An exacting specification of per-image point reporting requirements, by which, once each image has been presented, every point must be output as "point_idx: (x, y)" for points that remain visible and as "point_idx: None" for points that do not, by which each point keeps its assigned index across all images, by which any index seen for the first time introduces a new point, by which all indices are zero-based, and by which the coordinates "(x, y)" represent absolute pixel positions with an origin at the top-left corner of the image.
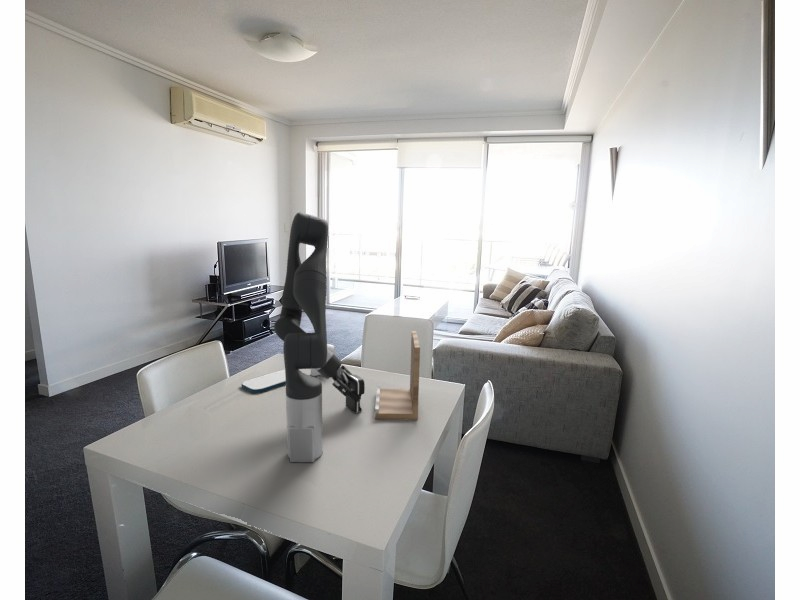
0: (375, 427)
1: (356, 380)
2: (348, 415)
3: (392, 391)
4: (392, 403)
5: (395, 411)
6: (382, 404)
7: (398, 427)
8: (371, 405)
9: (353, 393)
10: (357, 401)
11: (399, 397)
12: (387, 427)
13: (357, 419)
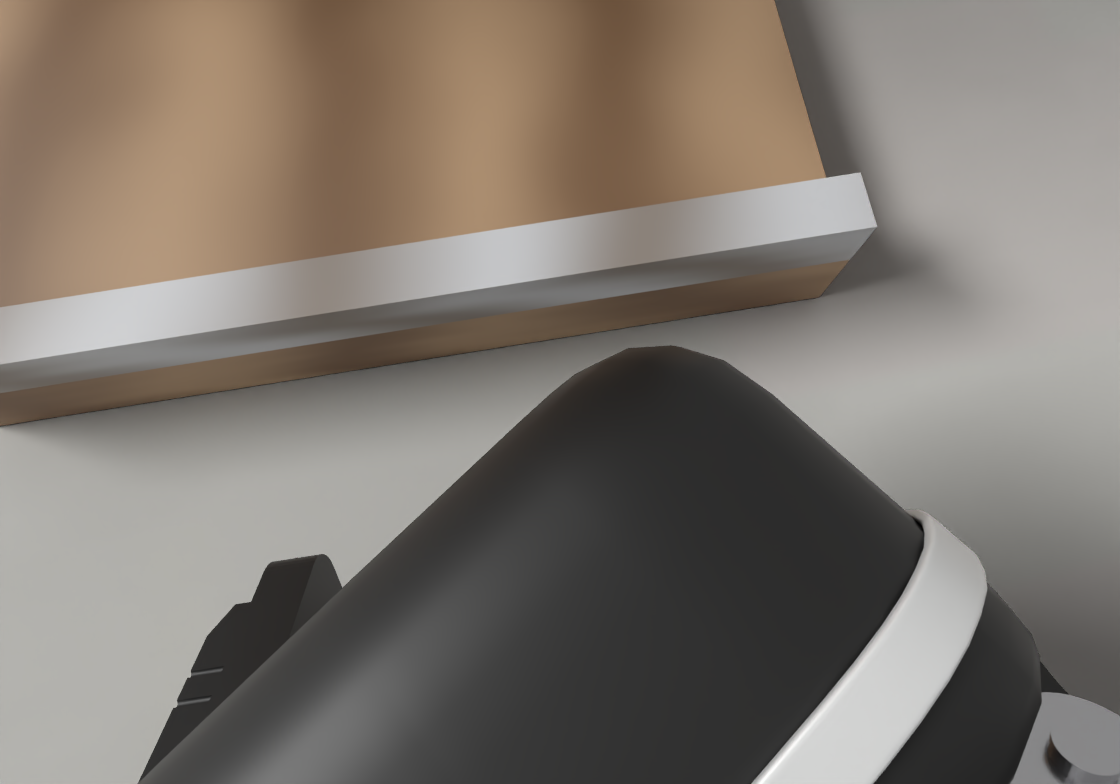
0: (1031, 250)
1: (962, 654)
2: None
3: (43, 159)
4: (471, 94)
5: (713, 22)
6: (525, 215)
7: (937, 17)
8: (407, 427)
9: None
10: None
11: (258, 40)
12: (980, 122)
13: None
